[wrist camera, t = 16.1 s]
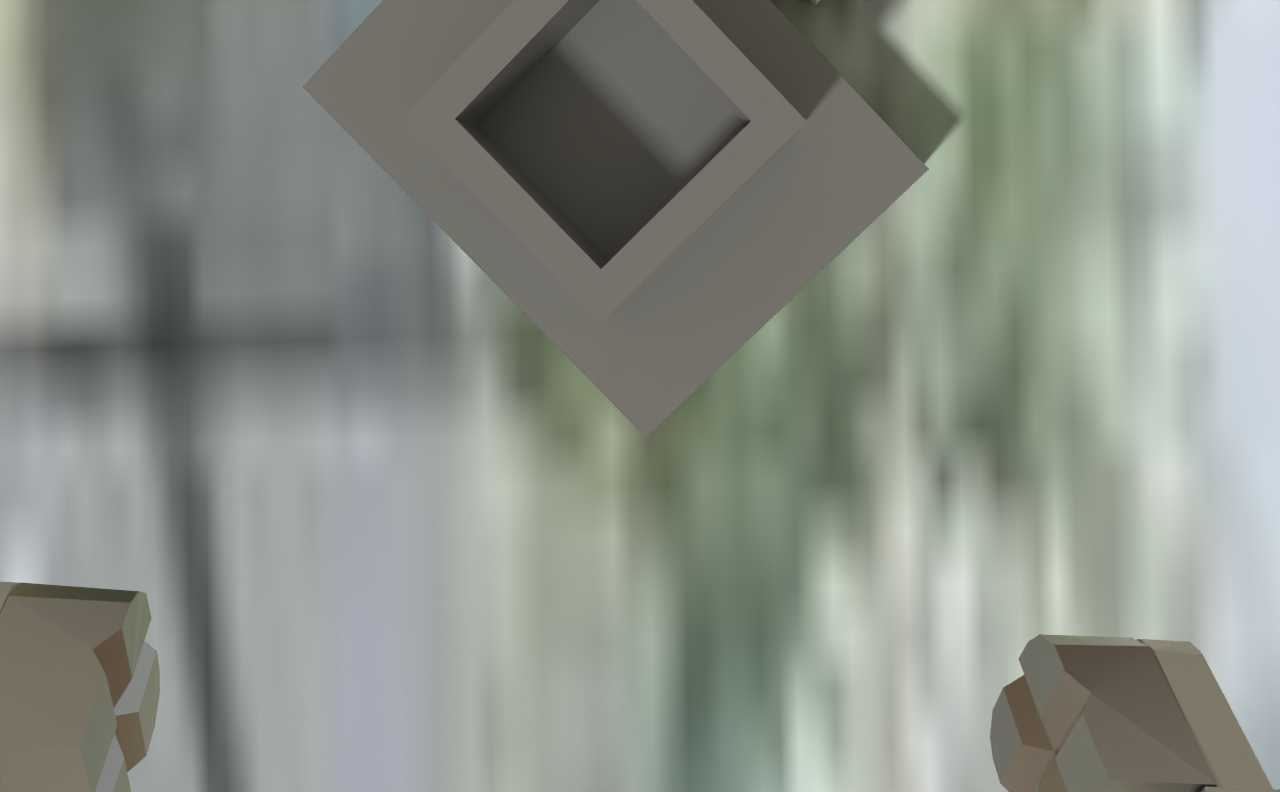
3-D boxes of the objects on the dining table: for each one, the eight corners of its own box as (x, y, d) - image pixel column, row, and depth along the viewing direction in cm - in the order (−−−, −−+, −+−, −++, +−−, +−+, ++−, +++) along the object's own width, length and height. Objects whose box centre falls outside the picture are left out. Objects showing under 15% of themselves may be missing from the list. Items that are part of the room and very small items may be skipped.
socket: (320, 91, 36) (263, 75, 32) (581, -189, 34) (561, -248, 30) (648, 427, 37) (639, 458, 32) (919, 170, 35) (948, 165, 31)
